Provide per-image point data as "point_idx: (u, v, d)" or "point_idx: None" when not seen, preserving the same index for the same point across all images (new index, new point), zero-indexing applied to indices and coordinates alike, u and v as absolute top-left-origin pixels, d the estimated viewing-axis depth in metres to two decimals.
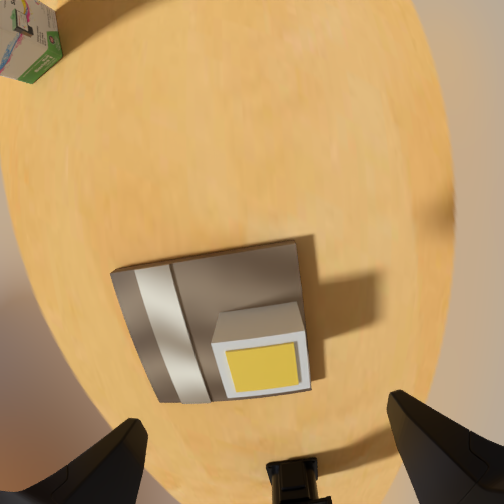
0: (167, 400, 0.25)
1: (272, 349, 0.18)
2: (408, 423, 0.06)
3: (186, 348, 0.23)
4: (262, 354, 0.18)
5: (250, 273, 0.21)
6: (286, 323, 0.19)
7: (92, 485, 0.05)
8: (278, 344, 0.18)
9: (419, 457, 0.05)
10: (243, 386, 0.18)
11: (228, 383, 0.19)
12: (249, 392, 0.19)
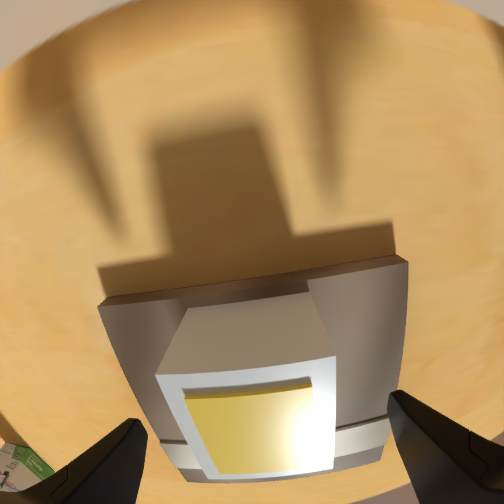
0: (377, 454, 0.14)
1: (205, 429, 0.08)
2: (408, 423, 0.06)
3: None
4: (217, 441, 0.08)
5: (151, 369, 0.13)
6: None
7: (91, 485, 0.05)
8: (194, 417, 0.08)
9: (419, 457, 0.05)
10: (301, 460, 0.08)
11: (295, 470, 0.08)
12: (321, 450, 0.08)
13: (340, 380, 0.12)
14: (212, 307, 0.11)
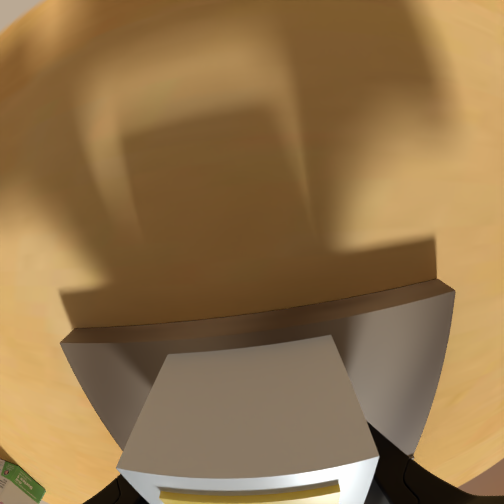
0: None
1: None
2: None
3: None
4: None
5: (130, 416, 0.09)
6: None
7: None
8: None
9: None
10: None
11: None
12: None
13: None
14: (199, 355, 0.08)
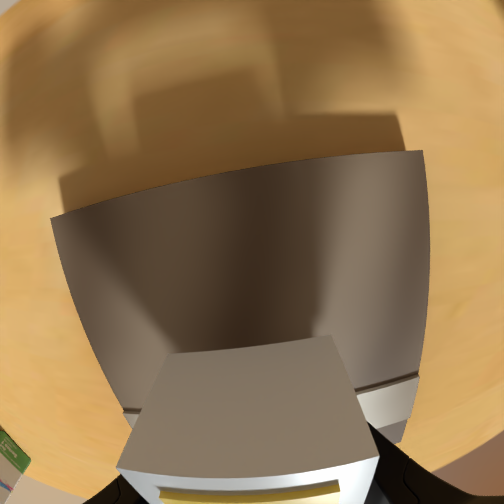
0: (398, 433, 0.12)
1: None
2: None
3: None
4: None
5: (106, 300, 0.10)
6: None
7: None
8: None
9: None
10: None
11: None
12: None
13: (352, 316, 0.10)
14: (199, 355, 0.08)
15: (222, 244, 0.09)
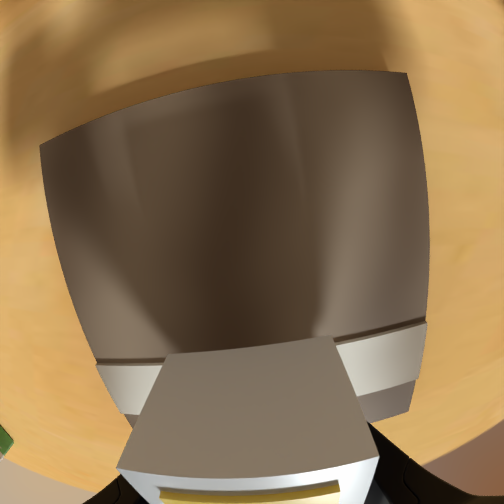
0: (406, 400, 0.11)
1: None
2: None
3: None
4: None
5: (84, 223, 0.09)
6: None
7: None
8: None
9: None
10: None
11: None
12: None
13: (347, 236, 0.09)
14: (199, 355, 0.08)
15: (205, 152, 0.08)
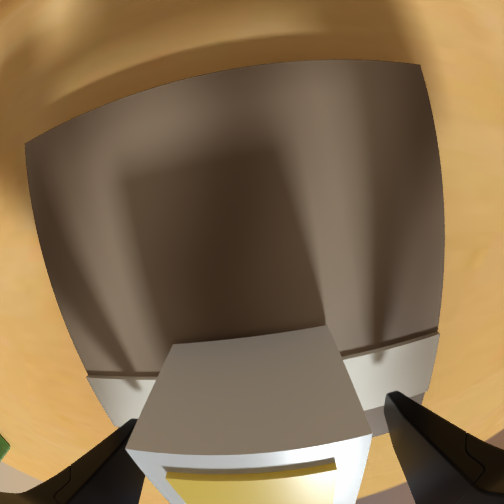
0: None
1: (195, 503, 0.05)
2: (404, 424, 0.06)
3: None
4: None
5: (70, 227, 0.08)
6: None
7: (95, 486, 0.05)
8: (180, 491, 0.05)
9: (415, 458, 0.05)
10: None
11: None
12: None
13: (358, 242, 0.08)
14: (203, 345, 0.09)
15: (200, 148, 0.08)
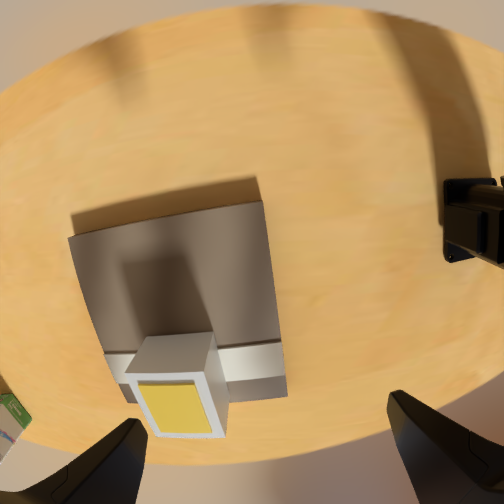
0: (282, 388, 0.20)
1: (149, 402, 0.15)
2: (408, 423, 0.06)
3: None
4: (156, 409, 0.15)
5: (97, 282, 0.18)
6: None
7: (91, 485, 0.05)
8: (143, 395, 0.15)
9: (419, 457, 0.05)
10: (202, 427, 0.15)
11: (202, 434, 0.16)
12: (212, 423, 0.15)
13: (223, 296, 0.18)
14: (159, 337, 0.19)
15: (153, 255, 0.18)
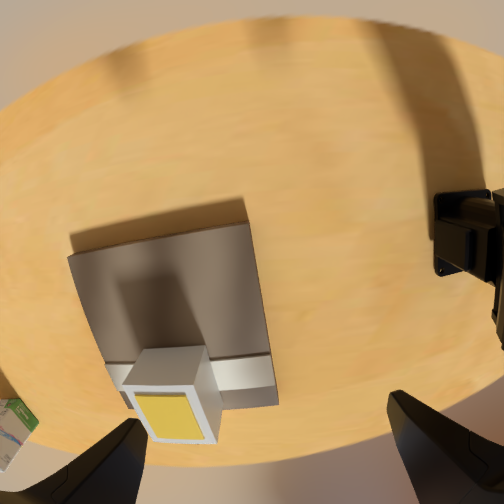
0: (273, 397, 0.21)
1: (145, 411, 0.16)
2: (408, 423, 0.06)
3: None
4: (151, 417, 0.16)
5: (96, 298, 0.19)
6: None
7: (91, 485, 0.05)
8: (140, 405, 0.16)
9: (419, 457, 0.05)
10: (194, 434, 0.16)
11: (196, 440, 0.17)
12: (204, 430, 0.16)
13: (214, 312, 0.19)
14: (155, 349, 0.20)
15: (146, 274, 0.19)
